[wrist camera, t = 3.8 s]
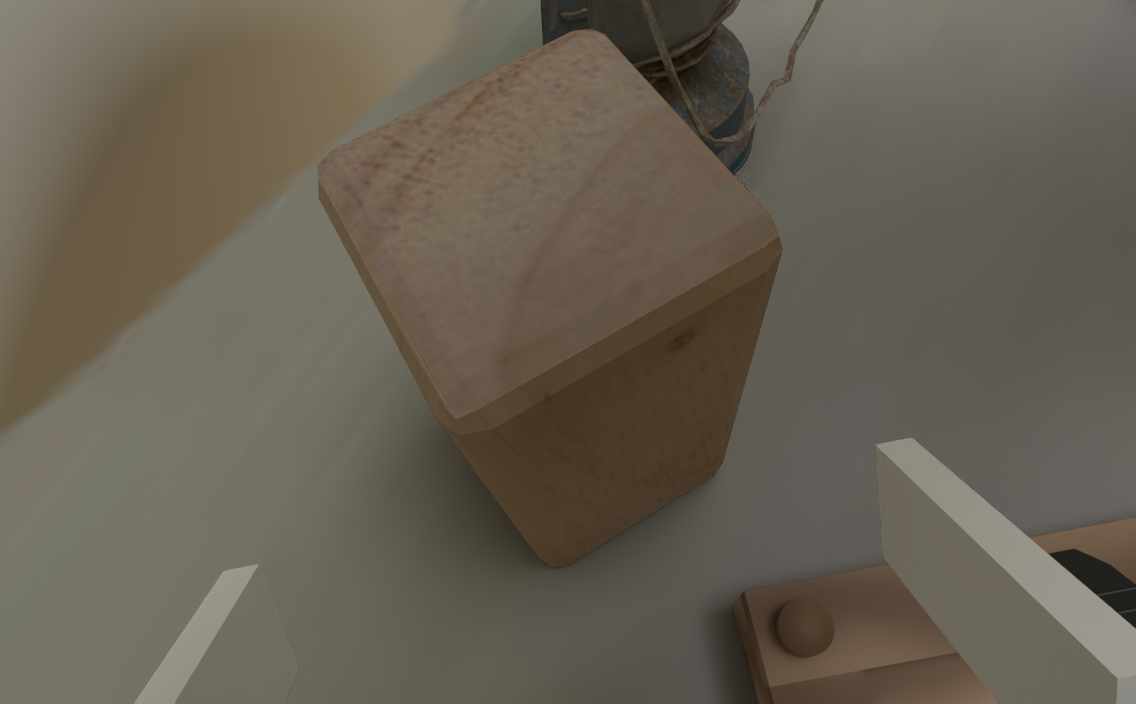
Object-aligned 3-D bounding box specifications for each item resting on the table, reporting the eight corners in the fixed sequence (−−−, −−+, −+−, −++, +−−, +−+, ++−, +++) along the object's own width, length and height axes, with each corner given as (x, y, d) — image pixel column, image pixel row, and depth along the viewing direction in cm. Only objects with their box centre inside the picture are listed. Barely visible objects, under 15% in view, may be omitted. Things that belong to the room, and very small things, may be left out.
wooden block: (729, 471, 36) (806, 229, 18) (551, 580, 34) (442, 437, 16) (620, 320, 40) (595, 3, 22) (458, 411, 39) (292, 152, 21)
